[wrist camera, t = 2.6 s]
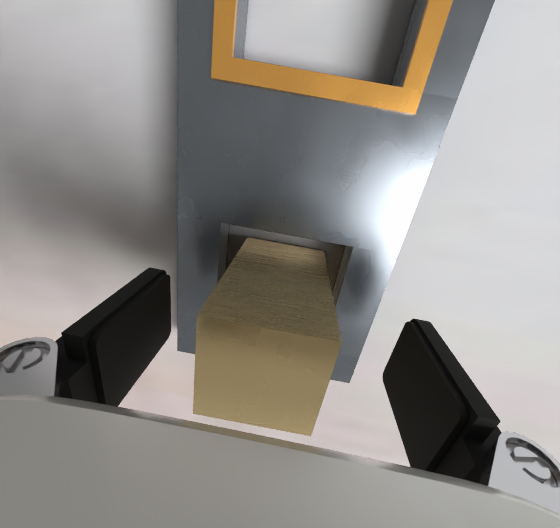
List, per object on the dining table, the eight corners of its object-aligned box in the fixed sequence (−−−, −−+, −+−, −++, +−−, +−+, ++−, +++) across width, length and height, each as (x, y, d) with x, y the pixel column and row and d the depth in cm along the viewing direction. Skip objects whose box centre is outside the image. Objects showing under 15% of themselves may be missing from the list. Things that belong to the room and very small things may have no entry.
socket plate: (345, 363, 16) (349, 385, 15) (188, 333, 16) (175, 353, 15) (554, -225, 7) (624, -329, 6) (201, -284, 7) (174, -401, 6)
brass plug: (307, 314, 15) (310, 435, 9) (240, 301, 15) (193, 413, 9) (323, 251, 13) (342, 342, 7) (247, 237, 13) (196, 315, 7)
